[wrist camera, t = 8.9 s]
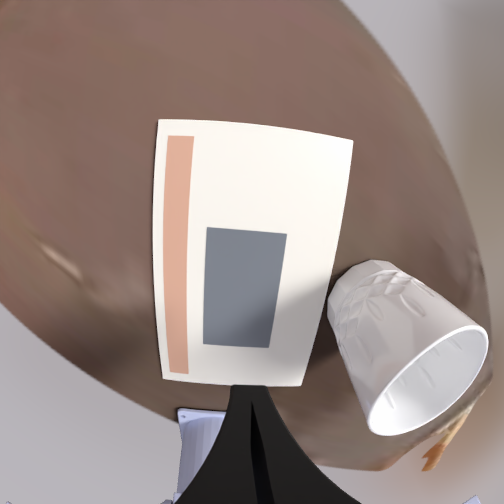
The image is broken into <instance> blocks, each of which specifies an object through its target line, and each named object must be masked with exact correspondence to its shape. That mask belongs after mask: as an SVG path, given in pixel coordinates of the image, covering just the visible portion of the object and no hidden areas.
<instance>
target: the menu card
mask: <svg viewBox="0 0 504 504" xmlns="http://www.w3.org/2000/svg"><path fill="white" fill-rule="evenodd" d="M352 147H353V141H352V140H348V139H343V138H338V137H333V136H328V135H323V134H318V133H312V132H307V131H301V130H294V129H288V128H281V127H273V126H265V125H256V124H247V123H236V122H223V121H206V120H159V122H158V132H157V143H156V156H155V171H154V192H153V270H154V292H155V307H156V320H157V332H158V342H159V351H160V359H161V367H162V375H163V379H169V380H177V381H185V382H195V383H206V384H219V385H233V384H238V385H265V386H301V384H302V380H303V377H304V374H305V371H306V368H307V364H308V361H309V357H310V354H311V351H312V347H313V344H314V340H315V336H316V333H317V329H318V325H319V322H320V318H321V314H322V310H323V306H324V302H325V298H326V294H327V289H328V285H329V281H330V276H331V272H332V267H333V263H334V258H335V253H336V248H337V243H338V238H339V233H340V227H341V222H342V216H343V210H344V204H345V198H346V192H347V185H348V178H349V171H350V163H351V156H352Z"/></svg>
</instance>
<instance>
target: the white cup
mask: <svg viewBox="0 0 504 504" xmlns="http://www.w3.org/2000/svg"><path fill="white" fill-rule="evenodd" d="M327 318H328V320H329V322H330V324H331V326H332V329H333V331H334V333H335V336H336V340H337V344H338V347H339V350H340V353H341V356H342V358H343V361H344V363H345V366H346V369H347V372H348V375H349V377H350V380H351V382H352V385H353V387H354V390H355V392H356V395H357V397H358V400H359V403H360V405H361V408H362V411H363V413H364V416H365V419H366V421H367V424H368V427H369V429H370V430H371V431H372V432H373V433H375V434H378V435H383V436H391V435H398V434H402V433H405V432H408V431H411V430H414V429H416V428H418V427H420V426H422V425H424V424H426V423H428V422H429V421H431V420H433V419H434V418H436V417H437V416H439V415H440V414H441V413H443V412H444V411H445V410H446V409H448V408H449V407H450V406H451V405H452V404H453V403H454V402H456V401H457V400H458V399H459V398H460V396H461V395H462V394H463V393H464V392H465V391H466V390H467V388H468V387H469V386H470V385H471V383H472V382H473V380H474V379H475V377H476V376H477V374H478V372H479V371H480V369H481V367H482V365H483V362H484V360H485V357H486V354H487V350H488V336H487V333H486V331H485V330H484V329H483V328H482V327H481V326H479V325H478V324H477V323H476V322H474V321H473V320H472V319H471V318H469V317H468V316H467V315H465V314H464V313H463V312H462V311H460V310H459V309H458V308H457V307H455V306H454V305H453V304H451V303H450V302H449V301H447V300H446V299H445V298H443V297H442V296H441V295H440V294H438V293H437V292H435V291H434V290H432V289H430V288H429V287H427V286H426V285H425V284H423V283H422V282H420V281H419V280H417V279H415V278H414V277H412V276H409V275H407V274H406V273H404V272H402V271H401V270H400V269H398V268H397V267H395V266H394V265H393V264H391V263H390V262H388V261H380V260H368V261H366V262H363V263H360V264H358V265H355V266H353V267H351V268H350V269H349V270H348V271H347V272H346V273H345V274H344V275H343V276H341V277H340V278H339V279H338V280H337V281H336V283H335V285H334V287H333V289H332V291H331V293H330V295H329V297H328V305H327Z"/></svg>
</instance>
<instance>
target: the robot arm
mask: <svg viewBox="0 0 504 504" xmlns="http://www.w3.org/2000/svg"><path fill="white" fill-rule="evenodd" d="M178 420H179V426H180V432H181V439H182V451H181V459H180V467H179V477H178V486H177V493H174V497H173V501H172V500H165V501H164V502H162V503H161V504H361V503H360V502H358V501H357V500H355V499H354V498H352V497H351V496H349V495H348V494H347V493H346V492H344V491H343V490H342V489H340V488H339V487H338V486H337V485H336V484H335V483H333V482H332V481H331V480H330V479H329V478H328V477H326V475H324V474H323V473H322V472H321V471H320V470H319V468H317V466H316V465H315V464H314V463H313V462H312V461H311V460H310V459H309V457H308V456H307V455H306V454H305V453H304V451H303V450H302V449H301V447H300V446H299V445H298V443H297V442H296V440H295V439H294V438H293V436H292V435H291V433H290V432H289V430H288V428H287V427H286V425H285V423H284V422H283V420H282V418H281V417H280V415H279V413H278V411H277V409H276V407H275V405H274V403H273V401H272V398H271V396H270V394H269V391H268V388H267V387H266V386H265V385H238V384H233V385H232V386H231V389H230V399H229V403H228V407H227V411H226V412H218V411H205V410H194V409H185V408H180V409H178ZM6 504H11V503H10V502H7V503H6ZM463 504H481V503H480V501H479V499H478V497H477V496H476V495H475V496H473V497H472V498H470V499H469V500H467V501H466V502H464V503H463Z"/></svg>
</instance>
